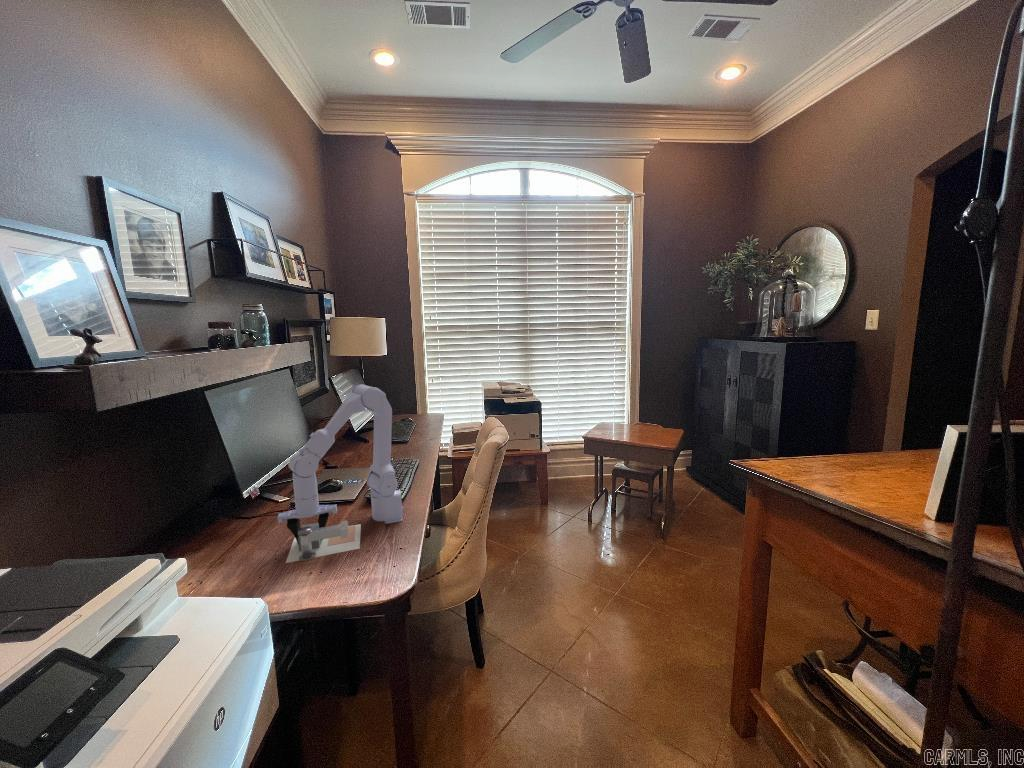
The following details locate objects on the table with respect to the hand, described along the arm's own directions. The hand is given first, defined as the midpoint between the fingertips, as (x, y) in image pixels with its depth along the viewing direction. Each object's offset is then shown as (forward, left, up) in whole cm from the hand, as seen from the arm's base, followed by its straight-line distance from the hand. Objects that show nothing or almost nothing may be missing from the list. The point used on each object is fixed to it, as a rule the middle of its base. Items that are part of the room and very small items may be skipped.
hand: (311, 540), depth 108 cm
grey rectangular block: (0, 0, -1) cm, 1 cm away
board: (-4, +1, -2) cm, 4 cm away
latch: (-4, +7, 0) cm, 8 cm away
